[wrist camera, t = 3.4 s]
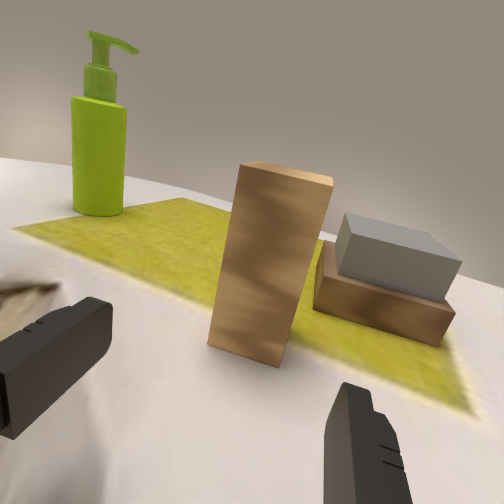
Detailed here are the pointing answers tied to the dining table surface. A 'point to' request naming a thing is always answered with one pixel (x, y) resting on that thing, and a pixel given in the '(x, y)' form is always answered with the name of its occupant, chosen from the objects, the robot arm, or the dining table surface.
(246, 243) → the oak pillar
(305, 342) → the dining table surface
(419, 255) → the gray slab
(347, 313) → the walnut slab
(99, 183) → the soap dispenser
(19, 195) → the dining table surface
